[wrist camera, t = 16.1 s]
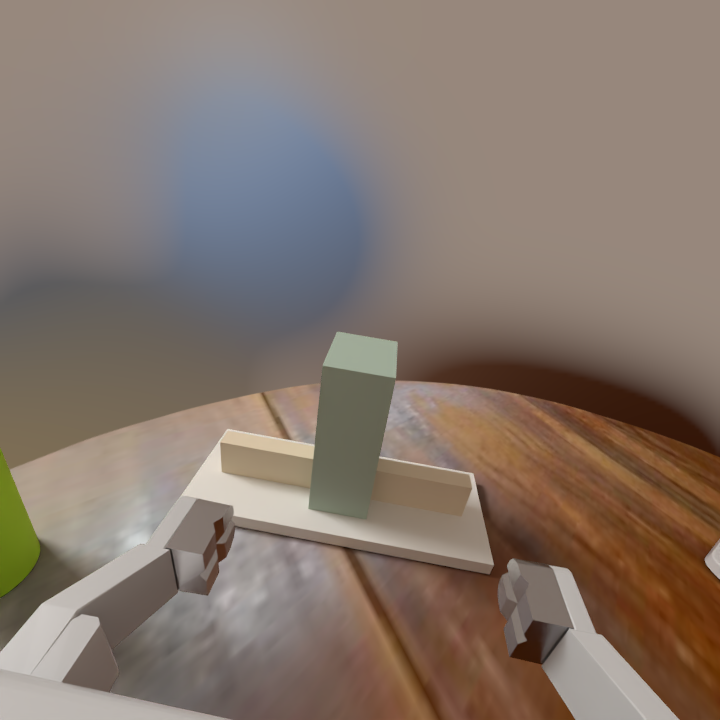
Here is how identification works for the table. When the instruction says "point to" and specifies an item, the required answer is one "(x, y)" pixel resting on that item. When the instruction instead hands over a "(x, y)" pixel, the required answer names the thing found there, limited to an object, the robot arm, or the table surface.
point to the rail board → (374, 534)
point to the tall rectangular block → (351, 423)
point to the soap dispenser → (14, 534)
